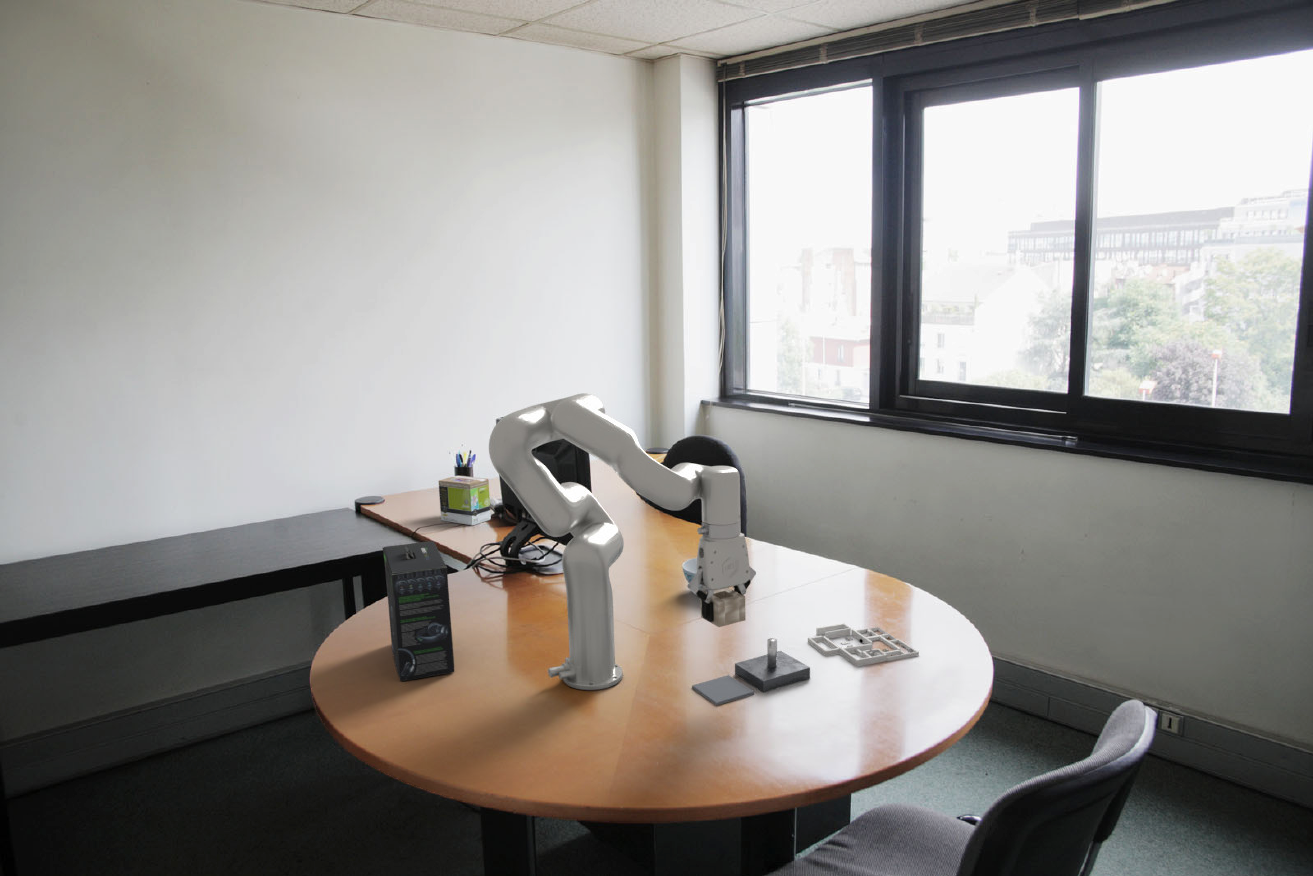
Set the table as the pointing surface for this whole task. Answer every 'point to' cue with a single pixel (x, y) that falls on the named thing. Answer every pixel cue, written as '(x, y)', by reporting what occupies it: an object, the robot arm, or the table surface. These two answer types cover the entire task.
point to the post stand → (772, 669)
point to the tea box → (464, 500)
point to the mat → (722, 690)
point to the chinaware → (690, 570)
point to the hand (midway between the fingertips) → (723, 615)
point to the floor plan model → (861, 649)
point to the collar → (727, 607)
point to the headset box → (419, 610)
